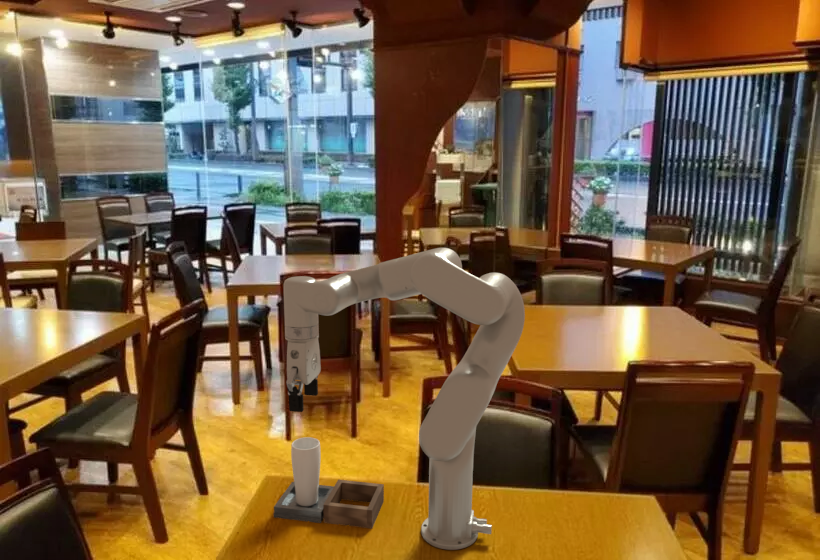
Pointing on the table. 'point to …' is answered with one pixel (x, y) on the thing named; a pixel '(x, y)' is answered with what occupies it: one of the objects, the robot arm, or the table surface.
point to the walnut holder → (354, 513)
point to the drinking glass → (306, 469)
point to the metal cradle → (293, 511)
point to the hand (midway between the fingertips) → (304, 402)
